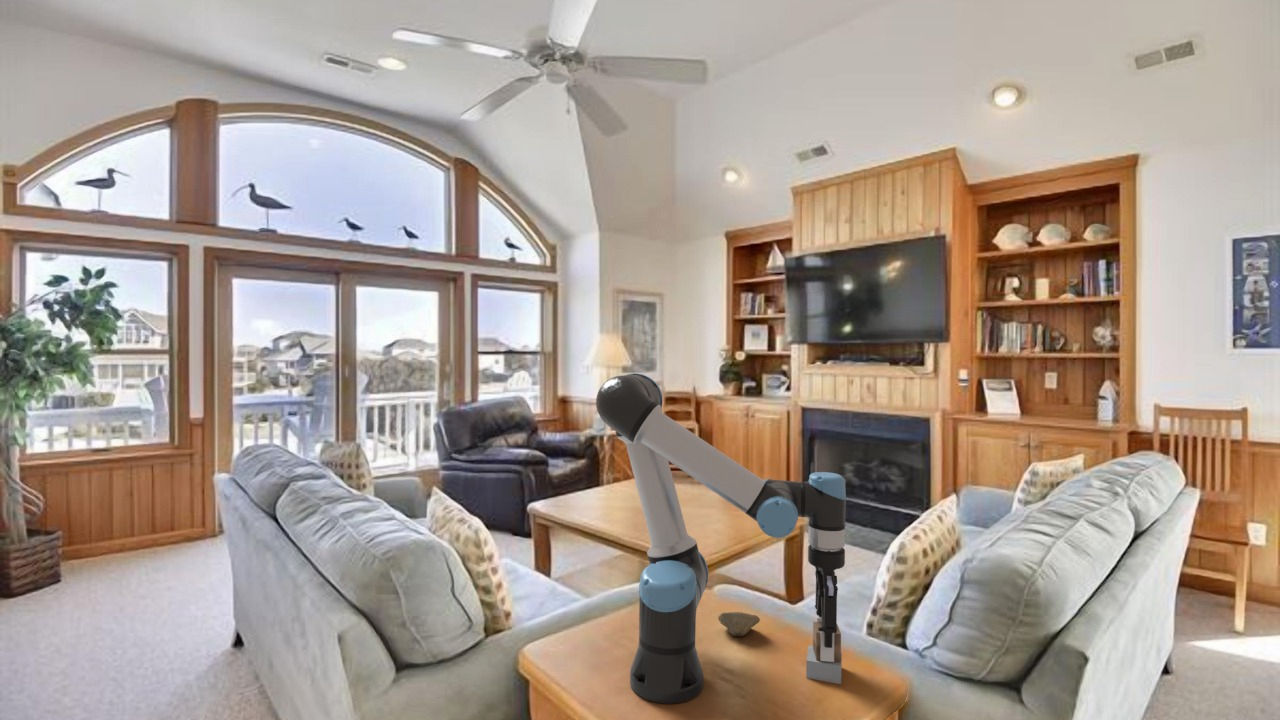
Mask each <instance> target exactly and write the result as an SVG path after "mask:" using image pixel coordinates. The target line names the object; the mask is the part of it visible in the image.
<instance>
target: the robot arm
mask: <svg viewBox="0 0 1280 720" xmlns="http://www.w3.org/2000/svg"><path fill="white" fill-rule="evenodd" d="M595 405H596V410H597V413H598V416H599V417H600V419H601V420H602V421H603V423H605V424H606V425H607V426H608V427H609V428H611V429H612V431H615V435H616V438H617V439H618V440H620V441H622V442H623V443H624V444H625V447H626V451H627V454H628V459H629V462H630V463H629V464H630V466H631V470H632V475H633V478H634V482H635V486H636V489H637V494H638V496H639V497H638V498H639V502H640V505H641V509H642V512H643V517H644V520H645V524H646V525H645V526H646V528H647V532H648V536H649V540H650V547H649V549H648V550H647V552H646V555H647V559H648V562H649V565H647V566H646V567H645V568H644V569H643V571H642V572H641V575H640V580H639V585H638V593H639V594H638V595H639V604H638V605H639V609H638V610H639V612H638V615H639V617H638V620H639V622H638V629H639V630H638V635H639V636H638V637H639V638H638V646H637V650H636V652H635V654H634V659H633V660H632V664H631V666H630V671H629V684H630V688H631V690H632V691H633V692H634V693H635V694H637V695H638V696H639V697H641V698H642V699H644V700H647V701H650V702H653V703H658V704H680V703H684V702H687V701H691V700H692V699H695V698H696V697H697V696H698V695H699V694H700V693H701V692H702V691H703V687H704V671H703V668H702V665H701V661H700V657H699V654H698V651H697V648H696V630H697V629H696V628H697V627H696V624H697V623H696V620H697V619H696V618H697V617H696V616H697V609H698V606H699V604H700V603H701V600H702V597H703V594H704V592H705V590H706V589H707V585H708V581H709V569H708V568H709V567H708V564H707V561H706V559H705V557H704V556H703V554H702V553H701V552H700V551H699V547H698V543H697V540H696V538H693V537H692V536H690V535H689V534H688V532H687V531H688V530H687V528H686V524H685V519H684V516H683V513H682V508H681V506H680V505H681V504H680V501H679V497H678V492H677V490H676V489H677V488H676V486H675V482H674V478H673V475H672V470H671V467H670V463H671V464H672V465H673V466H675V467H677V468H678V469H679V470H681V471H683V472H684V473H685V474H687V475H688V476H690V477H691V478H693V479H695V481H698V482H699V483H700V484H702V485H703V486H704V487H706V488H707V489H709V490H710V491H712V492H714V494H716V495H718V496H719V497H721V498H722V499H724V500H725V501H726V502H728V503H730V504H731V505H732V506H734V507H736V508H737V509H738V510H740V511H741V512H743V513H744V514H746V515H747V516H748V517H750V518H751V519H753V520H754V521H756V522H757V524H758V526H759V529H760V530H761V531H762V532H763V533H764V534H765V535H767V536H768V537H771V538H774V539H778V538H779V539H782V538H784V537H787V536H789V535H790V534H792V532H794V530H795V529H796V526H797V521H798V520H799V518H808V524H807V528H808V530H807V537H808V538H807V542H808V544H809V545H808V546H807V547H808V548H807V551H808V552H807V553H808V555H807V561H808V563H809V564H810V565H811V566H812V567H815V568H814V569H815V571H814V575H815V604H814V608H815V609H816V611H815V614H816V622H822V627H821V628H820V627H818V630H819V631H821V638H820V660H821V661H828V662H834V633H837V629H836V627H837V625H838V623H837V621H838V620H837V619H838V618H837V617H838V616H837V615H838V614H837V613H838V612H837V611H838V610H837V609H838V607H837V605H838V602H837V601H838V590H839V588H838V585H837V584H838V575H836V572H835V571H836V570H840V569H842V568H844V567H845V564H846V560H845V559H846V551H845V548H844V547H845V546H846V538H845V537H848V534H849V533H848V531H847V530H846V510H847V509H846V507H847V506H846V505H847V495H846V491H847V490H846V479H845V477H843V476H842V475H840V474H838V473H834V472H829V471H828V472H827V471H820V472H819V471H816V472H812V473H811V474H809V479H808V481H793V480H782V479H781V480H779V479H771V478H767V479H762V478H761V477H760V476H758V475H757V474H755V473H753V472H752V471H750V470H749V469H747V468H746V467H744V466H743V465H741V464H740V463H739V462H737V461H736V460H734V459H732V458H731V457H729V456H728V455H726V454H725V453H723V452H722V451H720V450H719V449H717V448H716V447H714V446H713V445H711V444H710V443H708V442H707V441H705V440H704V439H703V438H701V437H699V436H698V435H697V434H695V433H694V432H692V431H690V430H689V429H688V428H686V427H685V426H683V425H682V424H680V423H678V422H677V421H675V420H674V419H672V418H671V417H669V415H666V414H665V413H663V410H662V407H663V394H662V390H661V388H660V386H659V384H658V383H657V382H656V381H655V380H654V379H652V378H651V377H649V376H647V375H644V374H640V373H634V372H633V373H629V374H626V375H625V374H624V375H623V374H622V375H617V376H616V375H615V376H612V377H611V378H608V379H607V380H606V381H605V382H603V384H602V385H601V386H600V388H599V389H598V392H597V395H596V401H595Z"/></svg>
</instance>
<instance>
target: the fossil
mask: <svg viewBox="0 0 1280 720" xmlns="http://www.w3.org/2000/svg"><path fill="white" fill-rule="evenodd" d="M717 619H718V621H719V623H720V624H721V625H722V626H723V627H725V628H726V629H727V630H728V632H729V633H730V634H731V635H732V636H734V637H744V636H745V635H747V634H748V633H749V632H750V630H751V629H752V628H753V627H755V626H756V625H757V624H759V623H760V621H761V619H760V617H759V616H758V615H755V614H751V613H750V614H749V613H747V612H742V611H730V612H729V611H728V612H727V611H726V612H722V613H720V615H718V617H717Z"/></svg>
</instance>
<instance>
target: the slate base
mask: <svg viewBox="0 0 1280 720" xmlns="http://www.w3.org/2000/svg"><path fill="white" fill-rule="evenodd" d="M842 656H843V650H841V662H828V661H816V657H815V654H814V650H813V645H808V647H807V654H806V664H805V665H806V667H805V668H806V669H805V670H806V671H805V676H806V677H805V678H806V679H811V680H815V681H821V682H827V683H833V684H838V685H842V664H843V663H842V660H843V657H842Z"/></svg>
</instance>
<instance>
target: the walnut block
mask: <svg viewBox="0 0 1280 720" xmlns="http://www.w3.org/2000/svg"><path fill="white" fill-rule="evenodd" d="M818 627H820V628H821V627H822V622H817V621H812V646H813V650H814V654H815V657H816V661H821V660H820V638H821V631H819V630H818ZM836 629H837V633H834V662H841V651H842V633H841V630H840V628H839V626H838V624H837V627H836Z"/></svg>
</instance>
